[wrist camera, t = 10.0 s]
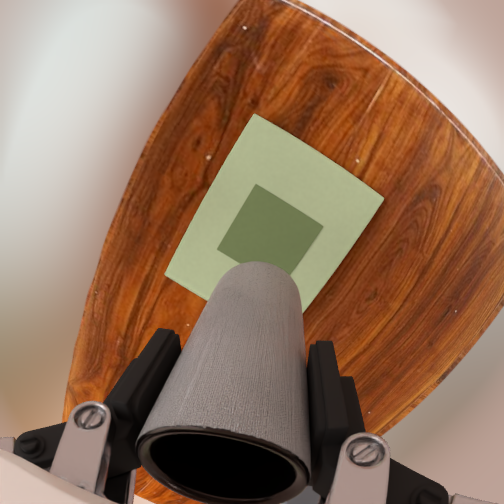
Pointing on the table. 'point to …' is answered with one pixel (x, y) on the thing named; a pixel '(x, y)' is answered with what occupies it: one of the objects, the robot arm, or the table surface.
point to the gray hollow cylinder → (236, 397)
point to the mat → (274, 214)
